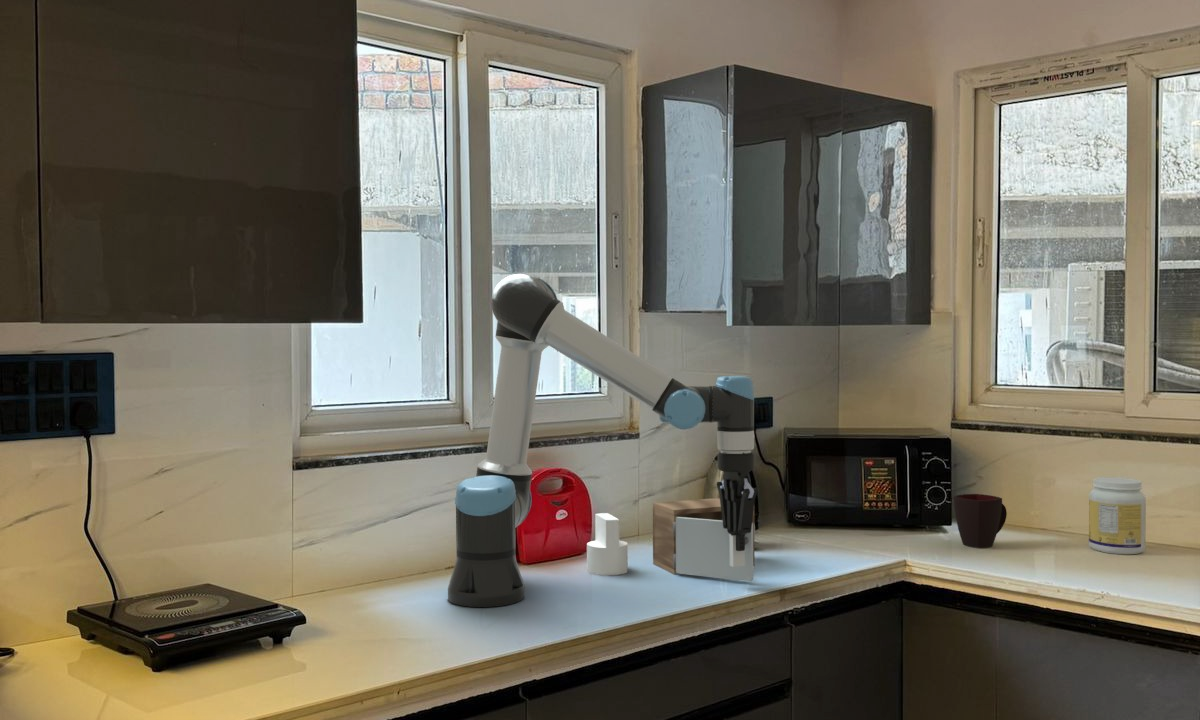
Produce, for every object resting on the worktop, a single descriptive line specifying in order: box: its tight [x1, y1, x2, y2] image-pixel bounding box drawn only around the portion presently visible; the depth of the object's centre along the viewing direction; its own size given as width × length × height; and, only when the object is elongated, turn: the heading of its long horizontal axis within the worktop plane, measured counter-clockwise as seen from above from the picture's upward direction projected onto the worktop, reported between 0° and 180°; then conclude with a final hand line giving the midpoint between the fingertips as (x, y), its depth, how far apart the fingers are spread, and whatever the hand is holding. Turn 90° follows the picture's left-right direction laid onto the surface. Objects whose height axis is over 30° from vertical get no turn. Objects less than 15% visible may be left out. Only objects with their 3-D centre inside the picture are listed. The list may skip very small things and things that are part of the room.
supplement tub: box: [1088, 476, 1147, 555], centre depth 241 cm, size 12×12×17 cm
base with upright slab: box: [586, 512, 629, 576], centre depth 222 cm, size 9×9×12 cm
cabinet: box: [652, 497, 756, 575], centre depth 227 cm, size 20×11×14 cm, turn 111°
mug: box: [953, 493, 1008, 549], centre depth 248 cm, size 10×14×12 cm
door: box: [673, 517, 754, 582], centre depth 213 cm, size 18×3×12 cm, turn 63°
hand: (737, 565), depth 206 cm, fingers closed
